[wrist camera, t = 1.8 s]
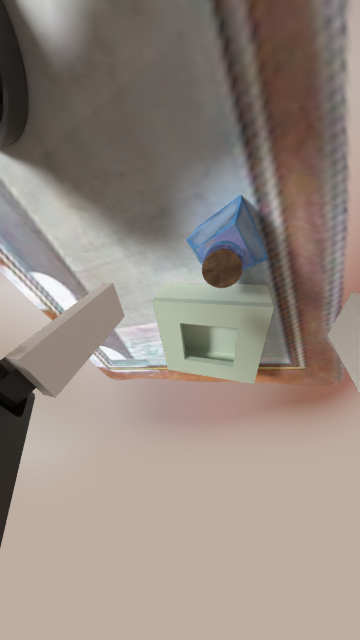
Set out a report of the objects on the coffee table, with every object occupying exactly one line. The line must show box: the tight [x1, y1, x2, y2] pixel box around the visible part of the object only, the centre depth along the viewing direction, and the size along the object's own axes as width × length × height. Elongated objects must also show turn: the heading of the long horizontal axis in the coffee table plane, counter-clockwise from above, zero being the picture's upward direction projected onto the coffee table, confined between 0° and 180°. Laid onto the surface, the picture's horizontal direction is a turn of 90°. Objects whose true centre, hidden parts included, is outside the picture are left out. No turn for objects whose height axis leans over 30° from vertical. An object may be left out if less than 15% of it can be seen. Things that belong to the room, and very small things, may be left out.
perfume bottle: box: [186, 195, 268, 288], centre depth 19 cm, size 6×6×12 cm
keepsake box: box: [152, 283, 274, 384], centre depth 30 cm, size 16×16×6 cm
